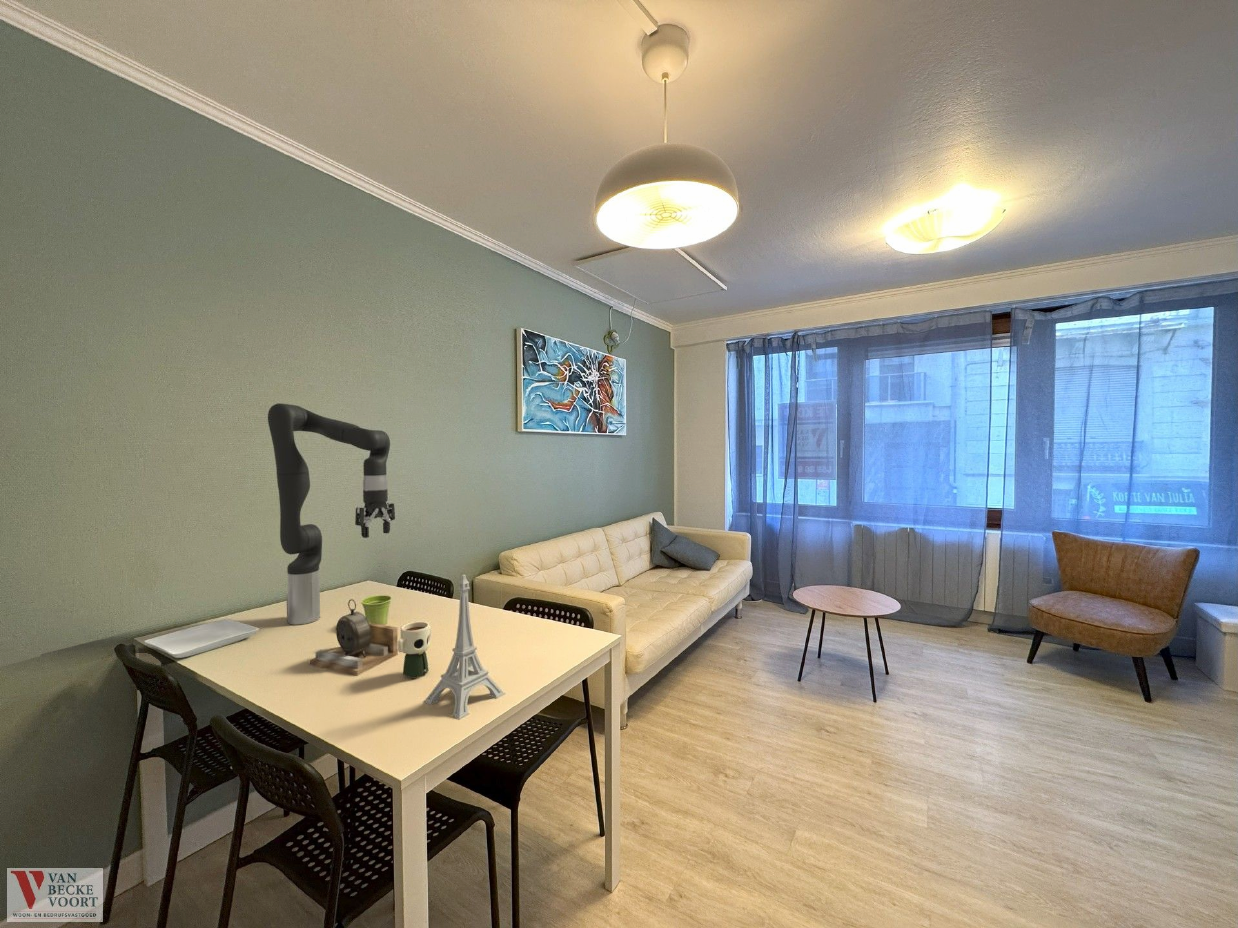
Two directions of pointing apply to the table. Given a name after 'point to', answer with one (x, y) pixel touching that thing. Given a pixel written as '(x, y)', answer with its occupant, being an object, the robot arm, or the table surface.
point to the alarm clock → (353, 632)
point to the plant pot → (377, 608)
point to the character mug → (415, 647)
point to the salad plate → (202, 638)
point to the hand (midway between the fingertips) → (376, 535)
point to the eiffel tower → (463, 663)
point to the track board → (376, 653)
